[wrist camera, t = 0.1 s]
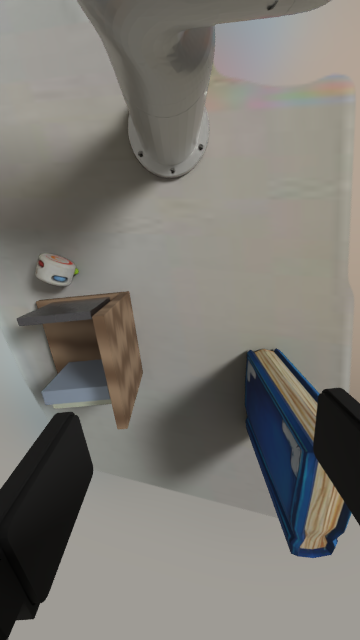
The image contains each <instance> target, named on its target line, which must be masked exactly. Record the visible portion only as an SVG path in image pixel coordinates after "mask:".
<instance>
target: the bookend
mask: <svg viewBox="0 0 360 640" xmlns="http://www.w3.org/2000/svg"><path fill="white" fill-rule="evenodd" d="M109 302H110V297H102V298H91V299H81V300H71V301H61V302H52V303H50V304H47V305H45V306H43V307H41V308H39V309H36V310H34V311H32V312H30V313H28V314H25V315H23V316H21V317H19V318H17V321H18V324H19V326H25V325H36V324H46V323H57V322H67V321H78V320H88V319H92V316H93V315H95V314H96V313H97V312H98V311H99V310H101V309H102V308H103V307H104V306H105V305H107V304H108V303H109Z"/></svg>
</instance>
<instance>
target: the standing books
mask: <svg viewBox="0 0 360 640" xmlns="http://www.w3.org/2000/svg"><path fill="white" fill-rule="evenodd" d="M42 395H43V398H44V401H45V404H46V405H51V404H53V407H54V409H57V408H69V407H80V406H92V405H103V404H112V403H111V398H110V394H109V389H108V385H107V381H106V376H105V372H104V367H103V363H102V359H100V360H89V361H78V362H69V363H68V364H67V365H66V366H65V367H64V368H63V369H62V370H61V371H60V372H59V373H58V375H57V376H56V377H55V378H54V379H53V380H52V381H51V382H50V383H49V384H48V385H47V386H46V387H45V389H44V390H43V391H42Z"/></svg>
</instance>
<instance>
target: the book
mask: <svg viewBox="0 0 360 640" xmlns="http://www.w3.org/2000/svg"><path fill="white" fill-rule="evenodd" d="M318 396H319V393H318V392H317V391H316V389H315V388H314V387H313V386H312V385H311V384H310V383H309V382H308V381H307V380H306V378H305V377H304V376H303V375H302V374H301V373H300V372H299V371H298V370H297V369H296V367H295V366H294V365H293V364H292V363H291V362H290V361H289V360H288V359H287V358H286V356H285V355H284V354H283V353H282V352H281V351H280V350H278V349H277V348H276V349H275V350H274V351H270V350H266V349H262V350H259V351H257V352H253V351H252V350H250V351H249V352H248V353H247V364H246V380H245V408H246V412H247V415H248V416H247V418H246V421H245V422H246V429H247V432H248V434H249V437H250V440H251V443H252V446H253V448H254V451H255V454H256V457H257V460H258V462H259V465H260V468H261V471H262V474H263V476H264V479H265V482H266V485H267V488H268V490H269V493H270V496H271V499H272V502H273V504H274V507H275V510H276V513H277V516H278V518H279V521H280V524H281V527H282V529H283V532H284V535H285V538H286V541H287V543H288V546H289V549H290V552H291V554H294V555H296V556H301V557H310V558H316V557H321V556H327V555H331V554H332V553H333V551H334V549H335V546H336V544H337V542H338V540H337V538H338V537H339V536H340V535H341V534H343V533H344V531H345V529H346V527H347V524H348V521H349V518H350V516H351V511H350V510H349V508H348V507H347V505H346V503H345V502H344V500H343V499H342V497H341V496H340V494H339V493H338V491H337V490H336V488H335V487H334V485H333V483H332V482H331V480H330V479H329V477H328V476H327V474H326V473H325V471H324V470H323V468H322V466H321V465H320V463H319V462H318V460H317V459H316V457H315V455H314V452H313V442H314V432H315V423H316V413H317V403H318Z"/></svg>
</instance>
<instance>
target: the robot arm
mask: <svg viewBox="0 0 360 640" xmlns="http://www.w3.org/2000/svg"><path fill="white" fill-rule="evenodd" d="M329 1H331V0H77V2H78V3H79V5H80V6H81V8H82V10H83V11H84V13H85V14H86V16H87V17H88V19H89V20H90V22H91V23H92V25H93V26H94V28H95V30H96V31H97V33H98V35H99V36H100V38H101V40H102V42H103V45H104V47H105V49H106V51H107V54H108V56H109V59H110V61H111V64H112V66H113V69H114V72H115V75H116V77H117V80H118V83H119V86H120V88H121V91H122V94H123V96H124V99H125V102H126V105H127V107H128V110H129V118H128V135H129V140H130V144H131V147H132V149H133V152H134V154H135V156H136V158H137V159H138V160H139V162H140V163H141V164H142V165H143V166H144V167H145V168H146V169H147V170H148V171H150V172H151V173H153V174H155V175H157V176H160V177H164V178H176V177H179V176H182V175H184V174H186V173H188V172H189V171H191V170H192V169H193V168H194V167H195V166H196V165H197V164H198V163H199V161H200V160H201V158H202V156H203V154H204V152H205V149H206V147H207V143H208V138H209V119H208V114H207V110H206V108H205V101H206V96H207V91H208V85H209V80H210V75H211V70H212V64H213V59H214V51H215V25H216V24H221V23H229V22H238V21H247V20H255V19H264V18H272V17H279V16H285V15H293V14H297V13H303V12H307V11H311V10H314V9H316V8H319V7H321V6H323V5H325V4H327V3H328V2H329ZM199 148H201V149H202V150H201V151H200V150H199ZM141 154H142V155H143V157H140V155H141ZM171 171H174V173H173V174H172V173H171ZM313 452H314V455H315V457H316V459H317V460H318V462H319V463H320V465H321V466H322V468H323V470H324V471H325V473H326V474H327V476H328V477H329V479H330V480H331V482H332V483H333V485H334V487H335V488H336V490H337V491H338V493H339V494H340V496H341V497H342V499H343V500H344V502H345V503H346V505H347V507H348V508H349V510H350V511H351V513H352V514H353V516H354V517H355V519H356V520H357V522H358V523H359V525H360V403H359V402H357V401H356V400H355V399H354V398H353V397H352V396H350V395H349V394H348V393H347V392H346V391H345V390H343V389H342V388H332V389H324V390H323V391H322V393H321V394H319V396H318V403H317V413H316V423H315V432H314V442H313ZM92 475H93V464H92V461H91V457H90V454H89V451H88V447H87V444H86V440H85V437H84V433H83V430H82V427H81V423H80V420H79V417H78V416H77V415H75V414H74V413H73V412H63V413H57V414H55V415H54V416H53V418H52V419H51V421H50V422H49V423H48V425H47V426H46V427H45V429H44V430H43V432H42V433H41V434H40V436H39V437H38V438H37V440H36V441H35V442H34V444H33V446H32V447H31V448H30V449H29V451H28V452H27V453H26V455H25V456H24V458H23V459H22V460H21V462H20V463H19V465H18V466H17V467H16V469H15V470H14V471H13V473H12V474H11V476H10V477H9V478H8V480H7V481H6V482H5V484H4V485H3V487H2V488H1V489H0V640H8V637H9V635H10V633H11V630H12V628H13V626H14V623H15V621H16V620H28V619H34V618H35V615H36V612H37V610H38V607H39V605H40V603H42V602H44V601H45V599H46V598H47V596H48V594H49V591H50V589H51V586H52V583H53V580H54V578H55V575H56V572H57V570H58V567H59V564H60V562H61V558H62V556H63V554H64V551H65V548H66V545H67V543H68V540H69V537H70V535H71V532H72V529H73V527H74V524H75V521H76V519H77V516H78V513H79V510H80V508H81V505H82V502H83V500H84V497H85V494H86V492H87V489H88V486H89V483H90V481H91V478H92Z"/></svg>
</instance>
